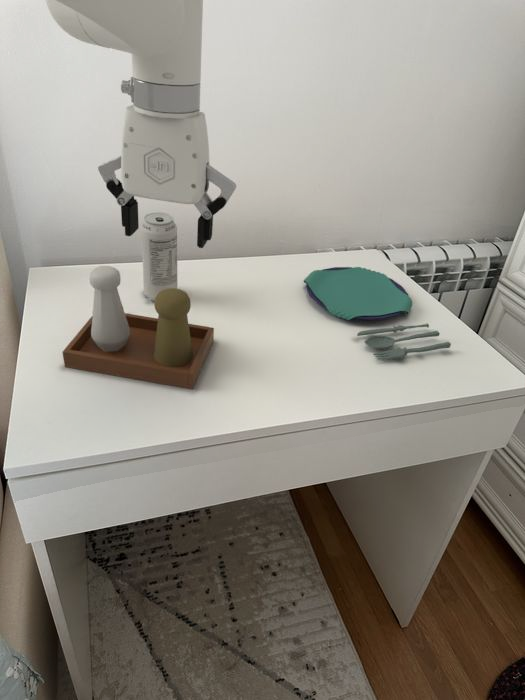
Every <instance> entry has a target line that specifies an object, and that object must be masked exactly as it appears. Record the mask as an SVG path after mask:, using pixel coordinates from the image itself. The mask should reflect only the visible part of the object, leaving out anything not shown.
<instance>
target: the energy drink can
mask: <svg viewBox="0 0 525 700" xmlns="http://www.w3.org/2000/svg"><path fill="white" fill-rule="evenodd" d="M140 231H141V232H140V234H141V236H140V237H141V254H142V255H141V257H142V274H143V275H142V279H143V292H144V295H145V296H146V297H147V298H148V300H150V301H152V302H155V297H156V296H157V294H158V293H159V292H160V291H162V290H165V289H169V288H176V289H178V226H177V225H176V223H175V221H174V216H173V215H171V214H169V213H165V212H150V213H147V214H146V215H145V216H144V221H142V224H141V226H140Z"/></svg>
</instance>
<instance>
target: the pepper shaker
mask: <svg viewBox="0 0 525 700" xmlns="http://www.w3.org/2000/svg"><path fill="white" fill-rule="evenodd" d="M153 302H154V301H153ZM191 305H192V303H191V297H190V296H189V294H188V293H187V291H184V290H182V289H180V288H177V289H176V288H169V289H165V290H162V291H160V292H159V293H158V294H157V296H156V297H155V302H154V310H155V312H156V313H157V314H158V316H157V319H158V324H157V332H156V340H155V349H154V359H155V361H157V362H158V363H159V364H161V365H163V366H168V367H178V366H182V365H185V364H187V363H188V362H190V361H191V359H192V358H193V351H192V344H191V338H190V331H189V324H190V323H189V318H188V314H189V312H190V310H191V307H192V306H191Z"/></svg>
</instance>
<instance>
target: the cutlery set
mask: <svg viewBox="0 0 525 700" xmlns="http://www.w3.org/2000/svg"><path fill="white" fill-rule="evenodd" d="M303 283H304V284H306V285H305V289H306V292H307V293H308V296H309V297H310V298H311V299H312V300H313V301H314V302H315V303H316V304H317V305H319V306H321V307H322V308H324V309H326V310H327V311H328V313H329V314H330V315H331V316H335V317H338V318H341V319H345V320H347V321H349V320H351V319H358V320H366V321H367V320H368V321H370V320H387V319H389V318H393V317H397V316H399V315H400V314H402V313H404V312H405V313H404V315H409V313H410V310H411V309H412V307H413V300H412V298H411V297H410V296H409V293H408V292H407V291H406V289H405V288H404V287H403V286H402V285H401V284H399V282H396V281H395V280H394V279H393V278H390V277H388V276H387V274H385V273H381V272H380V271H376V270H372V269H370V268H369V269H367V268H366V267H361V266H354V267H352V266H335V267H329V268H324V269H323V268H322V269H316V270H312V271H311V272H310V273H309V274H308V275H307V276H306V277H305V278H304V280H303ZM416 328H430V324H429V323H427V322H426V323H424V324H417V325H407V326H406V325H400V324H399V325H397V326H395V325H393V326H392V327H383V328H374V329H366V330H361V331H359V332H357V333H356V336H357V337H361V336H367V335H368V336H369V335H375V334H383V333H384V334H385V333H390V332H392V333H394V334H397V333H398V332H401V333H402V332H403V331H406V330H411V329H416ZM440 334H441V333H440V332H439V331H438V330H433V331H427V332H423V333H417V334H412V335H408V336H404V337H399V338H397V339H396V338H394V337H391V336H386V335H375V336H372V337H368V338H366V340H365V341H364V344H365V345H366V346H368V347H369V348H373V349H377V350H378V349H382V350H383V349H388V348H391V347H393V346H394V345H395V343H399V342H403V341H411V340H415V339H423V338H424V339H425V338H431V337H440ZM451 346H452V343H451V342H450V341H445V342H439V343H435V344H432V345H427V346H421V347H412V348H411V347H410V348H407V347H406V346H404V347H403V348H402V347H399V346H397V347H396V348H393V349H389V350H385V351H382V352H381V351H380V352H377V353H373V354H372V355H373V356H374V357H375V358H376V360H379V361H380V360H391V359H402V358H404V357H405V356H407V355H408V354H412V353H415V354H416V353H426V352H431V351H436V350H442V349H450V348H451Z"/></svg>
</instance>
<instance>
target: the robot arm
mask: <svg viewBox="0 0 525 700" xmlns="http://www.w3.org/2000/svg"><path fill="white" fill-rule="evenodd" d="M45 3H46V5H47V8H48V10H49V13H50V15H51V17H52V18H53V20H54V21H55V23H57V25H58V26H59V27H60V28H61V29H62V30H63V31H64V33H67V34H68V35H69V36H71V37H72V38H74V39H76V40H79V41H81V42H83V43H86V44H89V45H94V46H98V47H102V48H106V49H111V50H116V51H120V52H124V53H128V54H131V74H132V75H131V77H130V79H128V80H122V81H121V82H120V91H121V93H122V94H126V95H128V96H130V98H131V99H130V100H131V103H133V104H132V105H129V106H126V107H125V112H124V118H123V119H124V120H123V127H122V139H121V153H120V154H121V155H119V156H117V157H114V158H112V159H109V160H108V161H105V162H103V163H101V164H100V165H98V166H97V168H98V169H97V170H98V172H99V174H100V176H101V178H102V180H103V182H105V185H106V189H107V190H108V191H109V192H110V193H111V195H112V196H113V197H114V198H115V199H116V203H117V205H119V206H120V214H121V226H122V227H123V228H124V235H125V237H131V236H133V235H134V234H135V233H136V232H137V231H138V230H139V227H140V226H139V225H140V223H139V202H138V200H137V199H135V197H136V198H137V197H138V198H143V199H149V200H150V199H151V200H155V201H161V202H167V203H175V204H182V205H194V207H195V208H196V209H197V211H198V212H199V214H200V216H199V217H198V219H197V236H196V247H198V248H199V249H204V247H205V246H206V244H207V242H208V241H211V240H212V238H213V229H214V228H213V225H214V216H215V215H216V214H217V213H218V212H219V211H221V210H222V209H223V208H225V206H226V205H227V204H228V202H229V200H230V198H231V197H232V196H233V194H234V192H235V190H236V189H237V184H236V182H234V181H233V180H231V179H230V178H229V177H227V176H226V175H225V174H223V173H222V172H220V171H219V170H218V169H216V168H215V167H213V166H211V164H210V147H209V145H210V144H209V135H208V126H207V119H206V113H204V111H201V79H202V77H201V76H202V45H203V43H202V42H203V41H202V40H203V15H204V14H203V12H204V0H45ZM118 170H120V177H121V178H120V179H121V181H120V179H119V178H117V175H116V173H115V172H116V171H118ZM210 183H212V184H213V185H215V186H216V187H217V188H219V189H220V194H219V195H218V196H217V197H216V198H215V199H214V200H213V199H212V198H211V196H210V195H209V193H208V190H209V188H210Z"/></svg>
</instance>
